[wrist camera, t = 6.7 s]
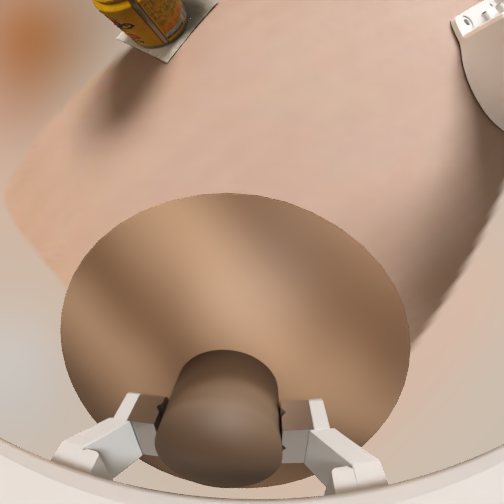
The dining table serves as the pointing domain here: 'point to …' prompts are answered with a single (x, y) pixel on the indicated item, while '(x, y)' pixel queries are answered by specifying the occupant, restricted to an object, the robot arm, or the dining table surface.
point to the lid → (234, 332)
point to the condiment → (155, 22)
